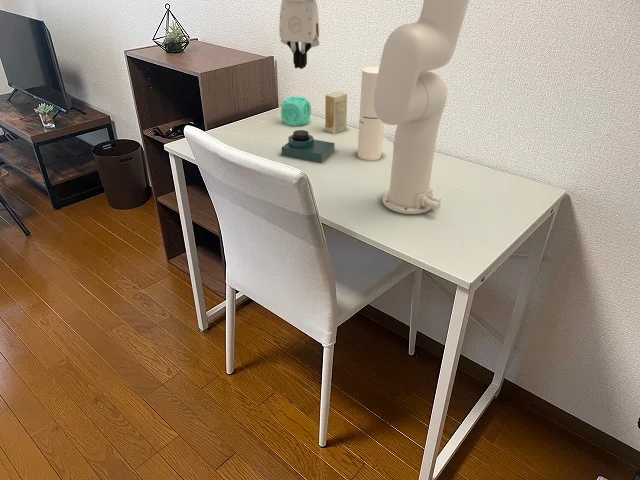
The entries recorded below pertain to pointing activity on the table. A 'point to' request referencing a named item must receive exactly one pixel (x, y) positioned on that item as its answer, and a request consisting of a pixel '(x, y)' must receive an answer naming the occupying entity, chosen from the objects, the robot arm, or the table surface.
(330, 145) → the base
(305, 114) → the decorative dice
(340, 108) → the cosmetic box
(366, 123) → the cylindrical container
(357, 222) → the table surface
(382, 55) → the robot arm
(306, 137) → the button
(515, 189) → the table surface
